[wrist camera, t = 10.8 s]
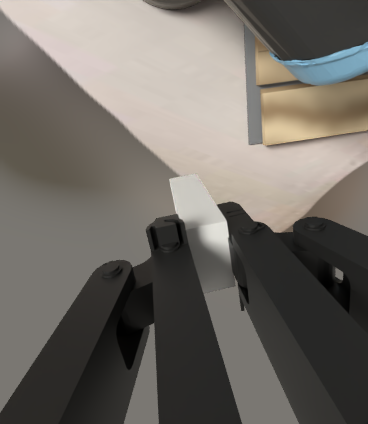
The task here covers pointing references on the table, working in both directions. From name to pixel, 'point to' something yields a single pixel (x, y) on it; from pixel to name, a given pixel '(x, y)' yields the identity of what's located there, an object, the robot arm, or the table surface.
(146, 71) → the table surface
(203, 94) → the table surface
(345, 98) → the board
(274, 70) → the floor board
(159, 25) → the table surface
